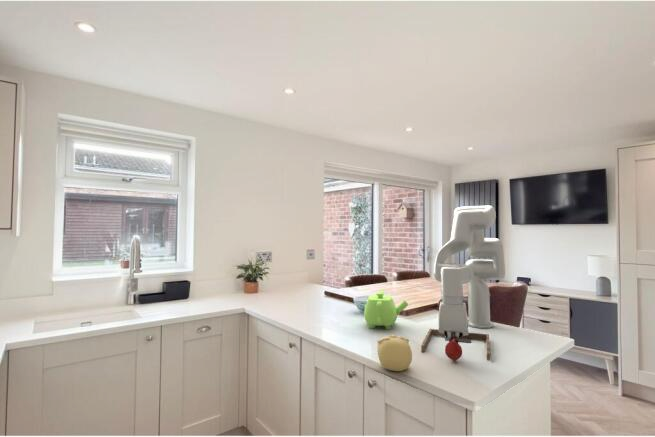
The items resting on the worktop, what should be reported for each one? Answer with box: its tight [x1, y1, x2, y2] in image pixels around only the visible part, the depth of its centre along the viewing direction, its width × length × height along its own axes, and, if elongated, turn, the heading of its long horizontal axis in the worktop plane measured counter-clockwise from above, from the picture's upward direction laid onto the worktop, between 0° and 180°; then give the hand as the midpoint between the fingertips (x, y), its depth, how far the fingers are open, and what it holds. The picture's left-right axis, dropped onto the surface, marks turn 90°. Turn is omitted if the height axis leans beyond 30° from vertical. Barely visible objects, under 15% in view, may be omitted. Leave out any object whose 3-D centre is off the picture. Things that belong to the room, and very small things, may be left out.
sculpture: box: [377, 334, 413, 372], centre depth 120 cm, size 12×12×11 cm
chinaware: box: [353, 295, 371, 314], centre depth 198 cm, size 15×15×8 cm
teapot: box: [363, 289, 409, 330], centre depth 172 cm, size 25×22×16 cm
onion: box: [444, 339, 463, 362], centre depth 124 cm, size 6×6×8 cm
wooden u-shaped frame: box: [420, 328, 491, 361], centre depth 139 cm, size 23×24×2 cm
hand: (454, 349), depth 128 cm, fingers closed
